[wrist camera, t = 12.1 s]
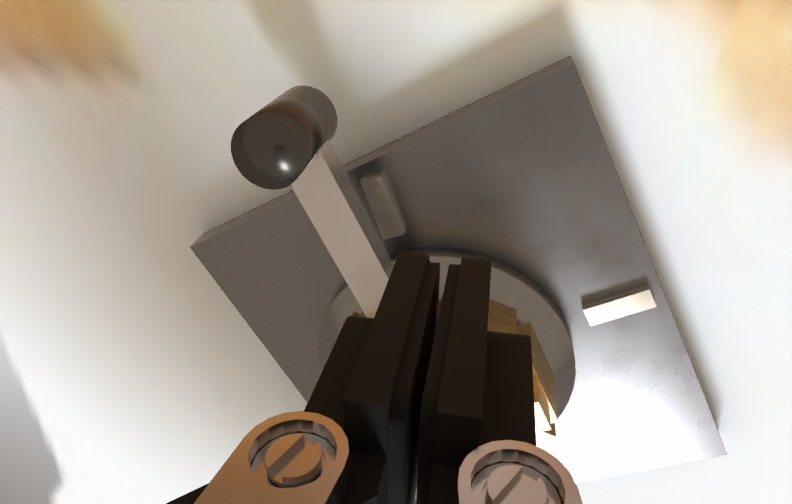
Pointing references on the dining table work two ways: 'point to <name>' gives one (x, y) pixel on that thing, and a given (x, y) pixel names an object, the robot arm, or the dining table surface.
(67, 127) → the dining table surface
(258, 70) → the dining table surface
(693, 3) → the dining table surface
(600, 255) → the base plate
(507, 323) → the knobbed lever handle
